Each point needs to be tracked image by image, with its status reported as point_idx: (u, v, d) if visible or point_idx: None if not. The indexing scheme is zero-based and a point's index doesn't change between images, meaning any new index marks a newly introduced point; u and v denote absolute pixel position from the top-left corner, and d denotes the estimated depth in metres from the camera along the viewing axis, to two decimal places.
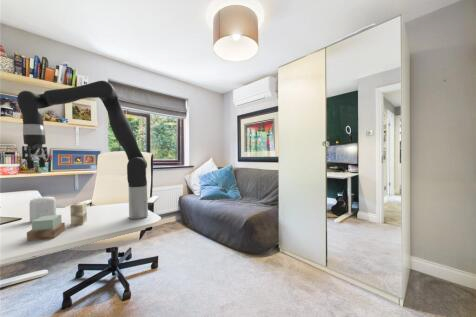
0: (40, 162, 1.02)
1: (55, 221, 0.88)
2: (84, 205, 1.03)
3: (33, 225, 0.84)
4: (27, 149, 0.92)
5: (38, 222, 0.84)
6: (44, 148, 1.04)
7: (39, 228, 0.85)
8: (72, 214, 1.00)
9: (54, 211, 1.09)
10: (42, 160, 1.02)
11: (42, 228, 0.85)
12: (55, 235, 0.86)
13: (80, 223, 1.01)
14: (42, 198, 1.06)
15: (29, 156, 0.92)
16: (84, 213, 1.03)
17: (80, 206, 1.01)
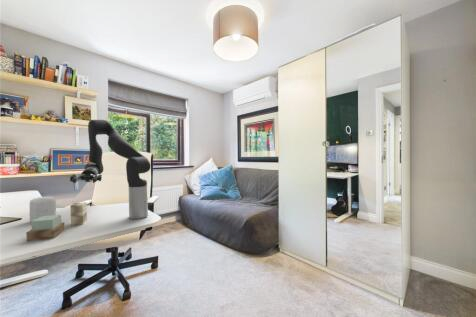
0: None
1: (55, 221, 0.88)
2: (84, 205, 1.03)
3: (33, 225, 0.84)
4: (72, 176, 1.15)
5: (38, 222, 0.85)
6: None
7: (39, 228, 0.85)
8: (72, 214, 1.00)
9: (54, 211, 1.09)
10: None
11: (42, 228, 0.85)
12: (55, 235, 0.86)
13: (80, 223, 1.01)
14: (42, 198, 1.06)
15: (71, 176, 1.12)
16: (84, 213, 1.03)
17: (80, 206, 1.01)
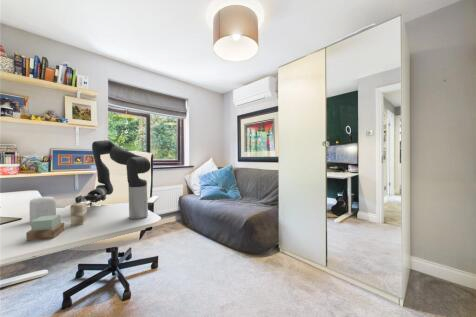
0: None
1: (55, 222, 0.88)
2: (84, 205, 1.03)
3: (32, 225, 0.84)
4: None
5: (37, 222, 0.85)
6: None
7: (38, 228, 0.85)
8: (72, 214, 1.00)
9: (54, 211, 1.09)
10: None
11: (41, 228, 0.85)
12: (55, 235, 0.86)
13: (80, 223, 1.01)
14: (42, 198, 1.06)
15: (76, 197, 1.16)
16: (84, 213, 1.03)
17: (80, 206, 1.01)
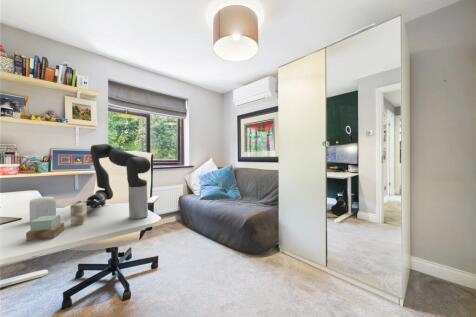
0: None
1: (54, 222, 0.88)
2: (84, 205, 1.03)
3: (31, 225, 0.84)
4: None
5: (36, 222, 0.84)
6: None
7: (37, 228, 0.84)
8: (72, 214, 1.00)
9: (54, 211, 1.09)
10: None
11: (40, 228, 0.85)
12: (55, 235, 0.86)
13: (80, 223, 1.01)
14: (42, 198, 1.06)
15: None
16: (84, 213, 1.03)
17: (80, 206, 1.01)
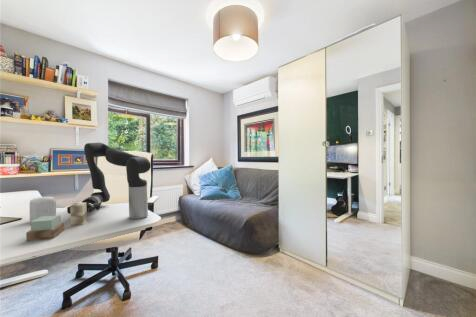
0: None
1: (54, 222, 0.88)
2: (84, 205, 1.03)
3: (32, 225, 0.84)
4: None
5: (37, 222, 0.84)
6: None
7: (38, 228, 0.84)
8: (72, 214, 1.00)
9: (54, 211, 1.09)
10: None
11: (41, 228, 0.85)
12: (55, 235, 0.86)
13: (80, 223, 1.01)
14: (42, 198, 1.06)
15: (68, 207, 1.07)
16: (84, 213, 1.03)
17: (80, 206, 1.01)
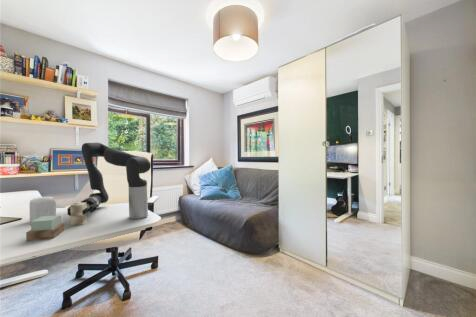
0: None
1: (54, 222, 0.88)
2: (84, 205, 1.03)
3: (32, 225, 0.84)
4: (68, 208, 1.06)
5: (37, 222, 0.84)
6: None
7: (38, 228, 0.84)
8: (72, 214, 1.00)
9: (54, 211, 1.09)
10: None
11: (41, 228, 0.85)
12: (55, 235, 0.86)
13: (80, 223, 1.01)
14: (42, 198, 1.06)
15: (69, 208, 1.04)
16: None
17: (80, 206, 1.01)
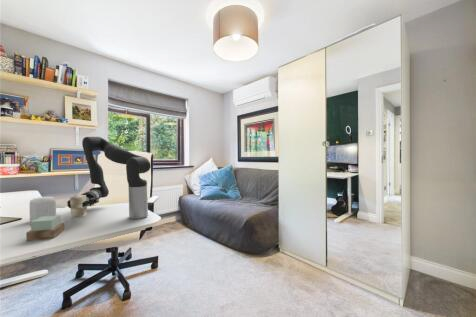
0: None
1: (54, 222, 0.88)
2: (84, 197, 1.03)
3: (32, 225, 0.84)
4: None
5: (37, 222, 0.84)
6: None
7: (38, 228, 0.84)
8: (72, 206, 1.00)
9: (54, 211, 1.09)
10: None
11: (41, 228, 0.85)
12: (55, 235, 0.86)
13: (80, 215, 1.01)
14: (42, 198, 1.06)
15: (69, 201, 1.03)
16: None
17: (80, 198, 1.00)
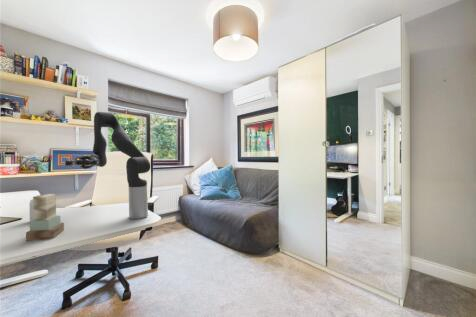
0: None
1: (53, 222, 0.88)
2: (50, 197, 0.87)
3: (30, 225, 0.84)
4: None
5: (35, 222, 0.84)
6: None
7: (36, 228, 0.84)
8: (35, 207, 0.85)
9: None
10: None
11: (39, 228, 0.85)
12: (54, 235, 0.86)
13: (44, 218, 0.85)
14: None
15: (66, 161, 1.12)
16: (50, 207, 0.87)
17: (44, 198, 0.85)
